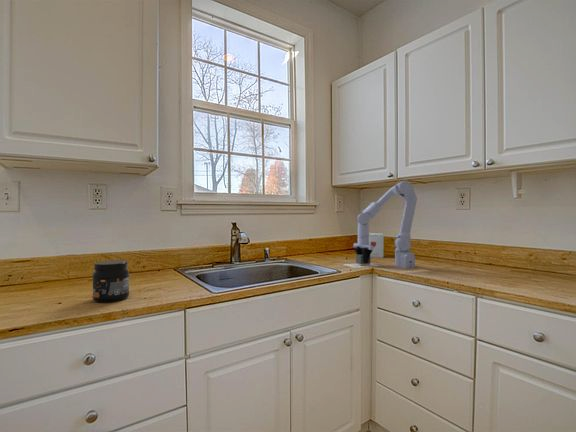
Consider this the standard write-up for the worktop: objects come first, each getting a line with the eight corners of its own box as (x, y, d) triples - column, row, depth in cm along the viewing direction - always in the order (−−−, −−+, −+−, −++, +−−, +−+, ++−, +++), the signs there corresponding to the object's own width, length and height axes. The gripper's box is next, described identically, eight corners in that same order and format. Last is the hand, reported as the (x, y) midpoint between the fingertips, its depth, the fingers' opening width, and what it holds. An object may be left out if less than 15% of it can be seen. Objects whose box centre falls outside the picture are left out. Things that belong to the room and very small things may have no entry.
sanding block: (370, 264, 161) (370, 255, 161) (360, 265, 159) (360, 255, 159) (365, 263, 165) (365, 254, 165) (356, 264, 163) (356, 254, 163)
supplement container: (91, 297, 103) (91, 261, 103) (126, 293, 109) (126, 259, 109) (93, 305, 95) (93, 266, 94) (131, 300, 101) (131, 262, 101)
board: (380, 268, 159) (380, 265, 159) (354, 270, 153) (354, 267, 153) (367, 264, 170) (367, 262, 170) (342, 266, 164) (342, 264, 164)
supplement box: (368, 257, 199) (368, 233, 199) (369, 255, 207) (369, 232, 207) (383, 257, 196) (383, 234, 196) (383, 256, 205) (383, 233, 205)
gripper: (348, 235, 167) (348, 260, 167) (365, 237, 154) (365, 264, 154) (359, 235, 170) (359, 260, 170) (377, 237, 156) (376, 264, 156)
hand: (363, 262), depth 162 cm, fingers closed on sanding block, 4 cm apart
